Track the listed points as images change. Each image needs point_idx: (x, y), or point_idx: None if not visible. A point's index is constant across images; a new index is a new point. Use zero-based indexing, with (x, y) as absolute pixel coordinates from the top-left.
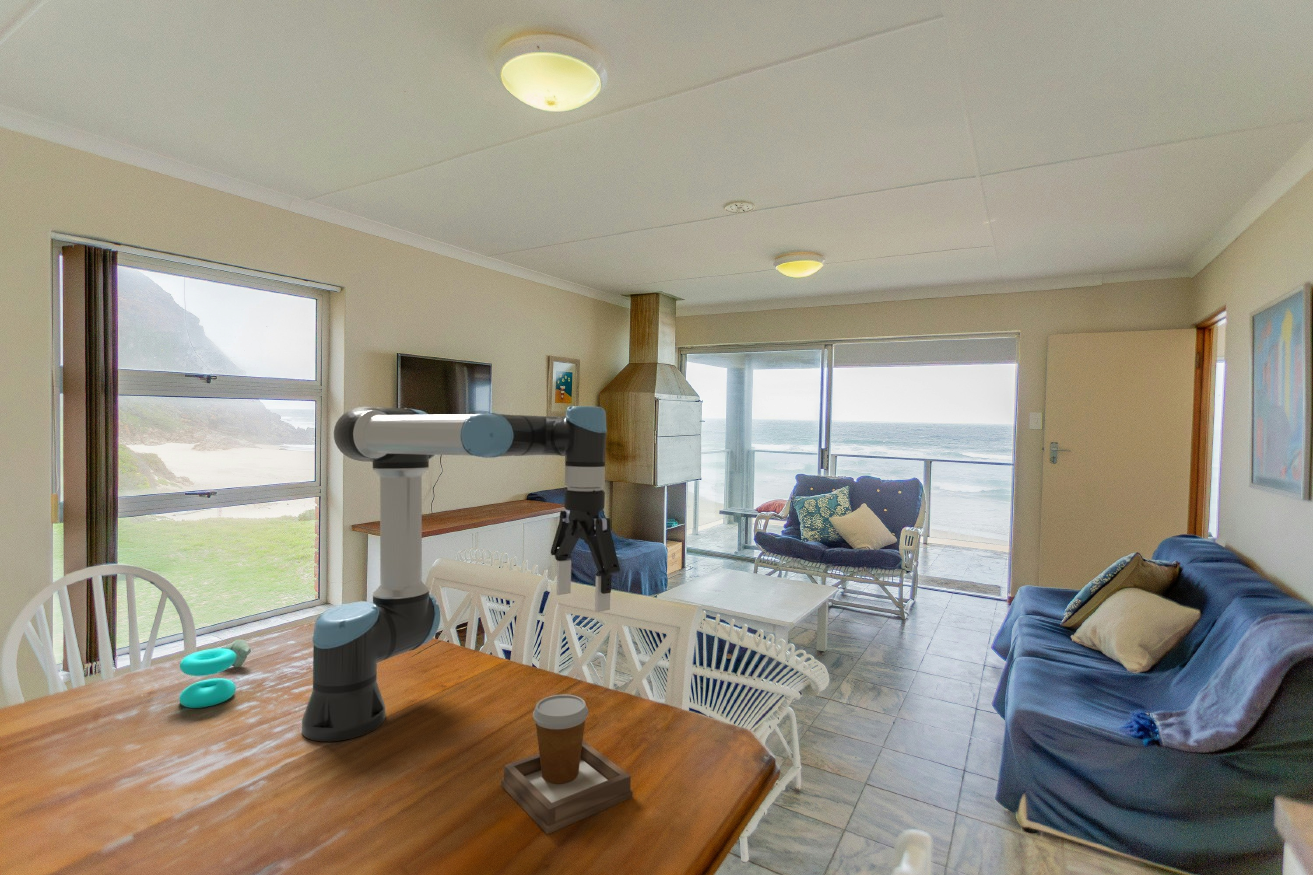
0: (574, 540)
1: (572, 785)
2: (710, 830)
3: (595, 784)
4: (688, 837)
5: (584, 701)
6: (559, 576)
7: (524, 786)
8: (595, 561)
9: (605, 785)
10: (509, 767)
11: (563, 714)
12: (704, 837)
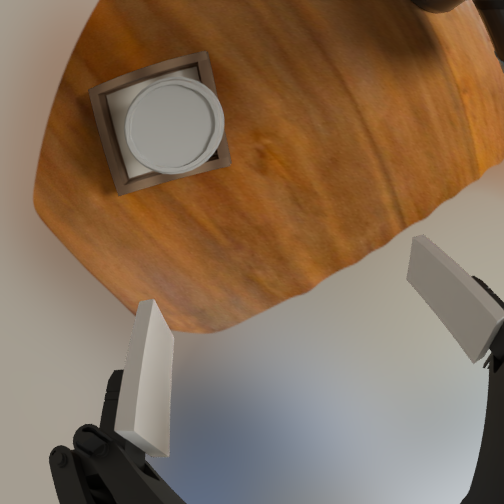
0: (485, 467)
1: None
2: (63, 239)
3: None
4: (58, 218)
5: (167, 171)
6: (455, 279)
7: (145, 67)
8: (145, 498)
9: (108, 162)
10: (196, 55)
11: (139, 124)
12: (56, 231)
